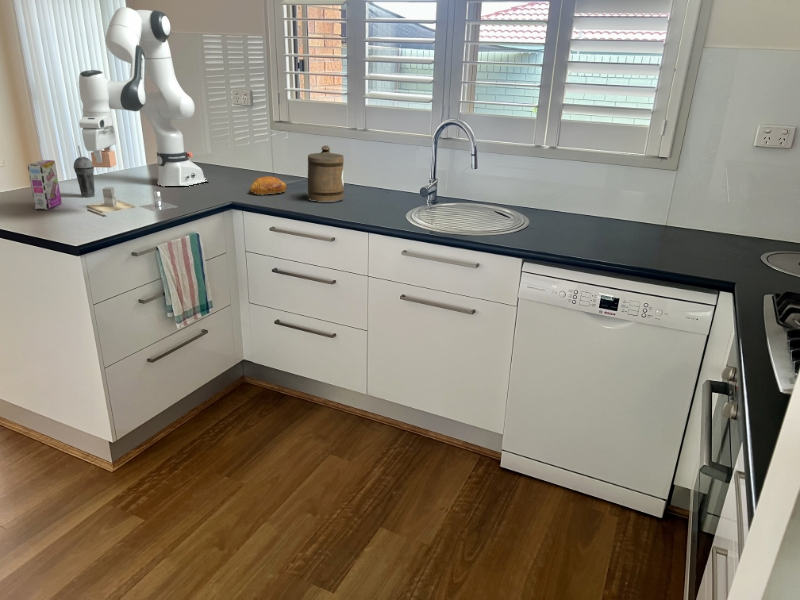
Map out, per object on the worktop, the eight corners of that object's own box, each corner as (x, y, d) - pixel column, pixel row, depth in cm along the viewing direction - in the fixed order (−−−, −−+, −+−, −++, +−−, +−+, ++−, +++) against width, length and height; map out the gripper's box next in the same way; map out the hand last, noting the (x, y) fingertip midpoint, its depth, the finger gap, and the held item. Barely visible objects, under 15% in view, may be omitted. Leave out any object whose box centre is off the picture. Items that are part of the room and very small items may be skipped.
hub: (119, 205, 226) (116, 183, 223) (135, 211, 219) (132, 188, 216) (87, 210, 217) (83, 187, 214) (103, 216, 211) (99, 193, 207)
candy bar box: (49, 210, 216) (41, 164, 210) (35, 210, 216) (26, 164, 210) (63, 203, 226) (55, 159, 220) (49, 203, 226) (41, 159, 220)
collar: (99, 164, 215) (97, 150, 213) (116, 164, 215) (114, 150, 213) (92, 167, 209) (90, 152, 207) (110, 167, 210) (108, 153, 208)
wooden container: (350, 200, 250) (351, 146, 242) (323, 204, 240) (323, 149, 232) (327, 194, 260) (327, 142, 251) (300, 198, 249) (299, 144, 241)
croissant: (288, 200, 256) (290, 181, 253) (252, 197, 249) (254, 178, 246) (280, 192, 268) (282, 174, 265) (245, 189, 261) (247, 171, 258)
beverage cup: (102, 194, 242) (94, 144, 234) (91, 198, 235) (83, 147, 228) (85, 193, 242) (77, 143, 235) (74, 197, 236) (65, 146, 228)
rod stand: (164, 205, 228) (162, 187, 226) (178, 210, 223) (176, 192, 220) (139, 210, 221) (136, 191, 219) (153, 215, 215) (151, 195, 213)
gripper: (99, 117, 216) (105, 156, 221) (76, 123, 197) (83, 165, 202) (117, 118, 216) (122, 156, 221) (96, 123, 197) (102, 165, 202)
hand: (104, 160), depth 211 cm, fingers closed on collar, 6 cm apart
